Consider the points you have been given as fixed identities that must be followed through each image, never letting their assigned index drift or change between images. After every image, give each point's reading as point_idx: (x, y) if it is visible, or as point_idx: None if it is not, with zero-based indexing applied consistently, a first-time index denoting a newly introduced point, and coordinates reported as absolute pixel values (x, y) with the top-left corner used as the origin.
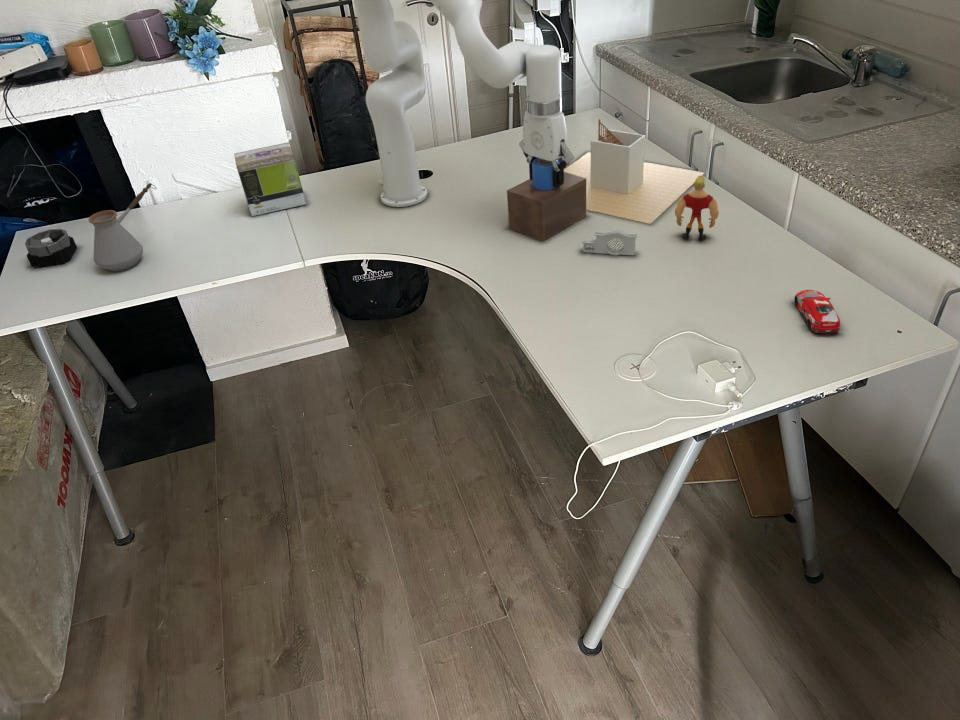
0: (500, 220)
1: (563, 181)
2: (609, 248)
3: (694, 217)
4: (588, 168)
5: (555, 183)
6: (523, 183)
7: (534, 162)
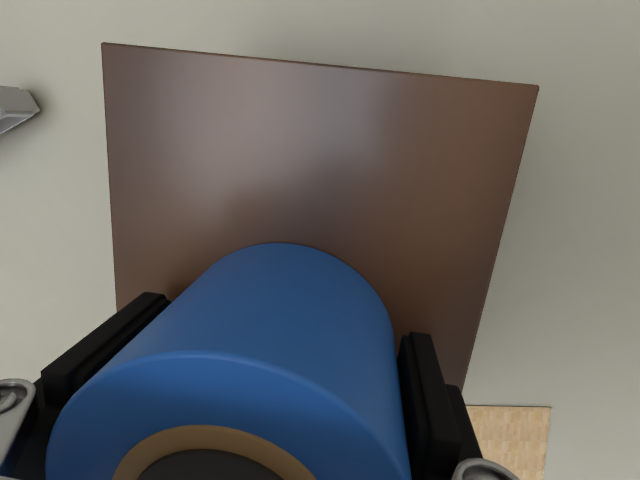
0: (546, 155)
1: None
2: None
3: None
4: None
5: (127, 310)
6: (467, 282)
7: (346, 453)
